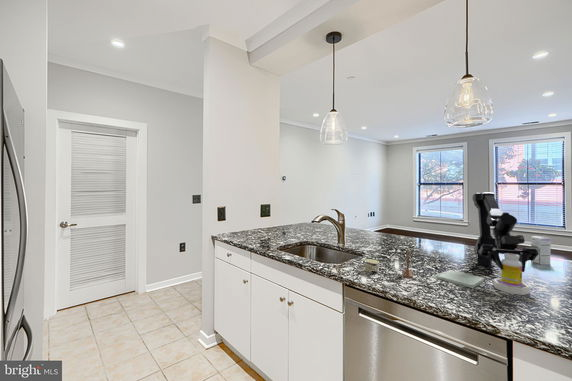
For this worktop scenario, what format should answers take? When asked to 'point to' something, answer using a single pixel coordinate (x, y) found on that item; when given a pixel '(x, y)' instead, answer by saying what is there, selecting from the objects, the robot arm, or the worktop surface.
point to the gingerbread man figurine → (406, 272)
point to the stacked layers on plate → (371, 265)
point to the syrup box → (541, 249)
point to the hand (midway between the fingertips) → (512, 270)
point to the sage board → (461, 278)
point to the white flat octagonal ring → (511, 288)
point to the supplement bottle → (511, 270)
